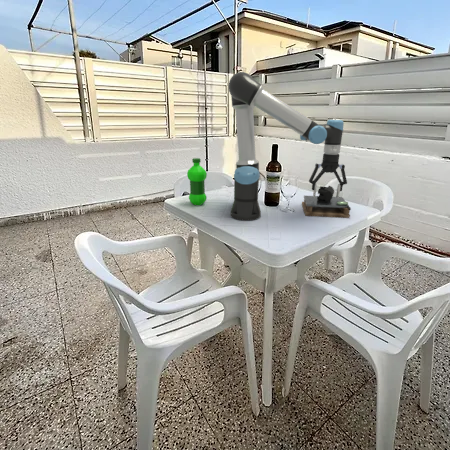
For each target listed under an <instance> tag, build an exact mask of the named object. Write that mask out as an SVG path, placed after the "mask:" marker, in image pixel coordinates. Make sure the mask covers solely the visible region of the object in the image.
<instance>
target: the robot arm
mask: <svg viewBox="0 0 450 450" xmlns="http://www.w3.org/2000/svg"><path fill="white" fill-rule="evenodd" d="M228 92H229V95H230V96H231V97H230V98H231V107H232V108H233V109H234V110H235V120H236V122H235V123H236V137H237V153H238V161H237V162H236V163H235V166H236V169H235V170H234V174H233V178H234V179H233V181H234V185H233V187H234V189H233V197H234V198H233V201H232V206H231V209H230V217H231V218H232V219H234V220H239V221H255V220H258V219H260V218H261V217H262V216H261V215H262V212H261V208H260V204H259V185H260V184H259V183H260V178H261V173H260V163H259V160H257V157H256V141H255V139H256V138H255V137H256V136H255V121H254V120H255V119H254V117H255V116H254V108H257V109H259V110H260V111H261V112H263V113H265V114H267V115H268V116H270V117H271V118H273V119H274V120H276V121H278V122H279V123H280V124H283V126H286V127H287V128H289V129H290V130H292V131H293V132H295V133H297V134H298V135H299V140H301V141H306V142H308V141H309V142H310V143H312V144H313V145H320V144H322V143H324V145H323V154H322V160H321V163H317V162H316V163H315V165H314V169H313V171H312V173H311V175H310V177H309V180H308V182H309V183H310V184H311V190H312V191H313V194H312V196H313V197H315V196H317V186H318V185H317V183H318V181H319V180H320V178H321V177H322V176H323V175H324V174H326V173H330V174H331V173H332V174H334V176H335V178H336V179H337V182H339V184H337V187H336V196H335V197H337V198H339V197H340V192H343V186H345V185H347V184H348V180H347V177H346V172H345V166H346V165H345V164H343V163H341V164H340V163H339V160H340V153H341V145H342V140H343V134H344V133H343V132H344V124H345V123H344V122H345V121H343V120H341V119H328V120H327V121H326V123H324V124H323V123H322V124H320V123H317V122H315V121H313V120H312V119H311V118H309V117H307V116H306V115H305V114H303V113H301V112H300V111H299V110H297V109H295V108H293V107H292V106H291V105H289V104H287V103H286V102H285V101H282V100H281V99H280V98H278V97H276V96H275V95H274V94H272V93H270V92H269V91H267V90H266V89H264V87H263V85H262V84H261V82H258V81H257V80H256V79H255V78H254V77H253V76H252V75H250V73H247V72H244V71H239V72H236V73H235V74H233V75H232V76H231V77H230V79H229V81H228ZM320 168H321V170H320V172H319V173H318V175H317V176H316V174H317V172H318V170H319V169H320ZM338 168H339V169H340V173H341V177H342V179H341V177H340V175H339V174H338V171H337V170H338Z"/></svg>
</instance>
